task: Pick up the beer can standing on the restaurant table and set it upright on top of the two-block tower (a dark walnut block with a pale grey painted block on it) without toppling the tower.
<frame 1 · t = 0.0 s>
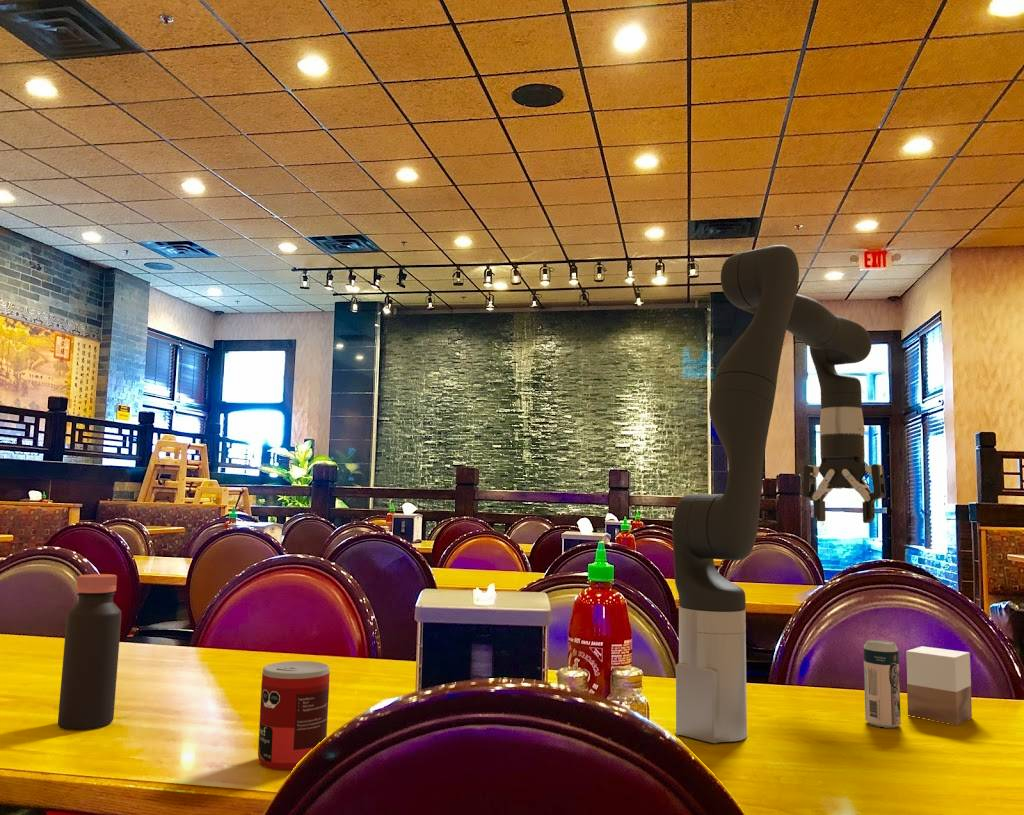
hand: (843, 522, 149), 29 cm above the table, fingers open, 8 cm apart
tower base: (940, 718, 127), on the table
tower top: (939, 684, 127), point 5 cm above the table
canned food: (291, 762, 98), on the table
beer can: (883, 726, 121), on the table
bottle: (85, 725, 112), on the table
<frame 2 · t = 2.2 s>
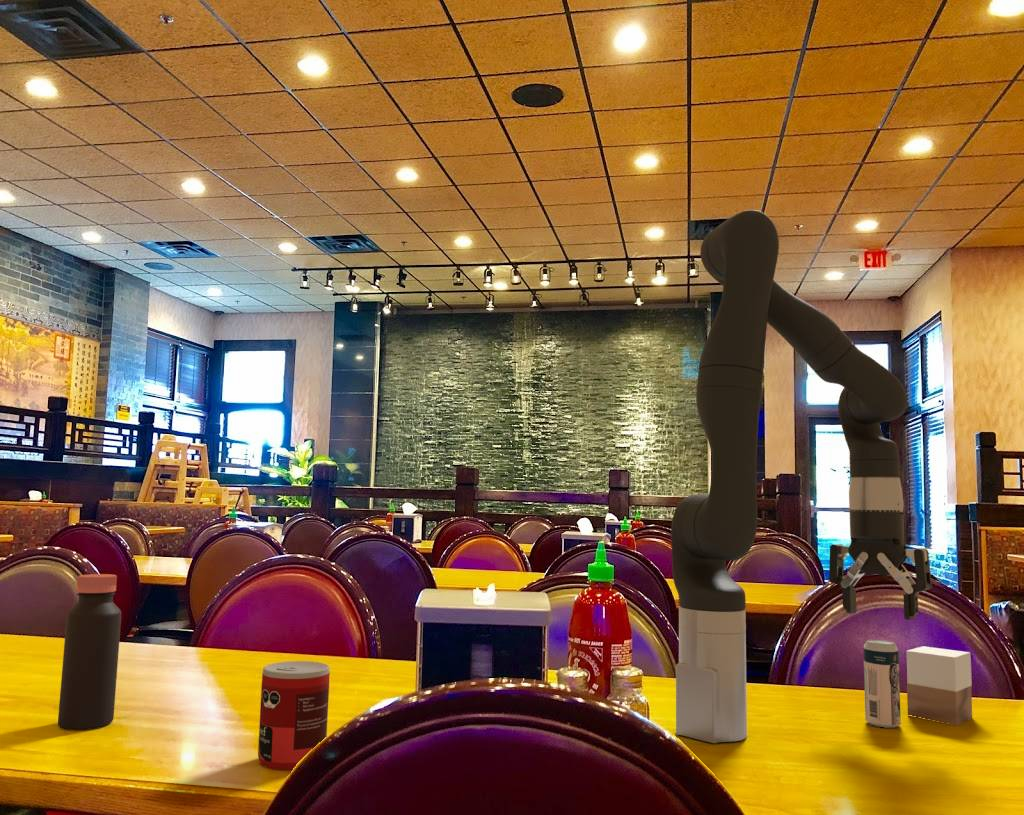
hand: (880, 616, 123), 16 cm above the table, fingers open, 8 cm apart
tower base: (940, 718, 127), on the table, touching tower top
tower top: (939, 684, 128), point 5 cm above the table, touching tower base
everything else where it was.
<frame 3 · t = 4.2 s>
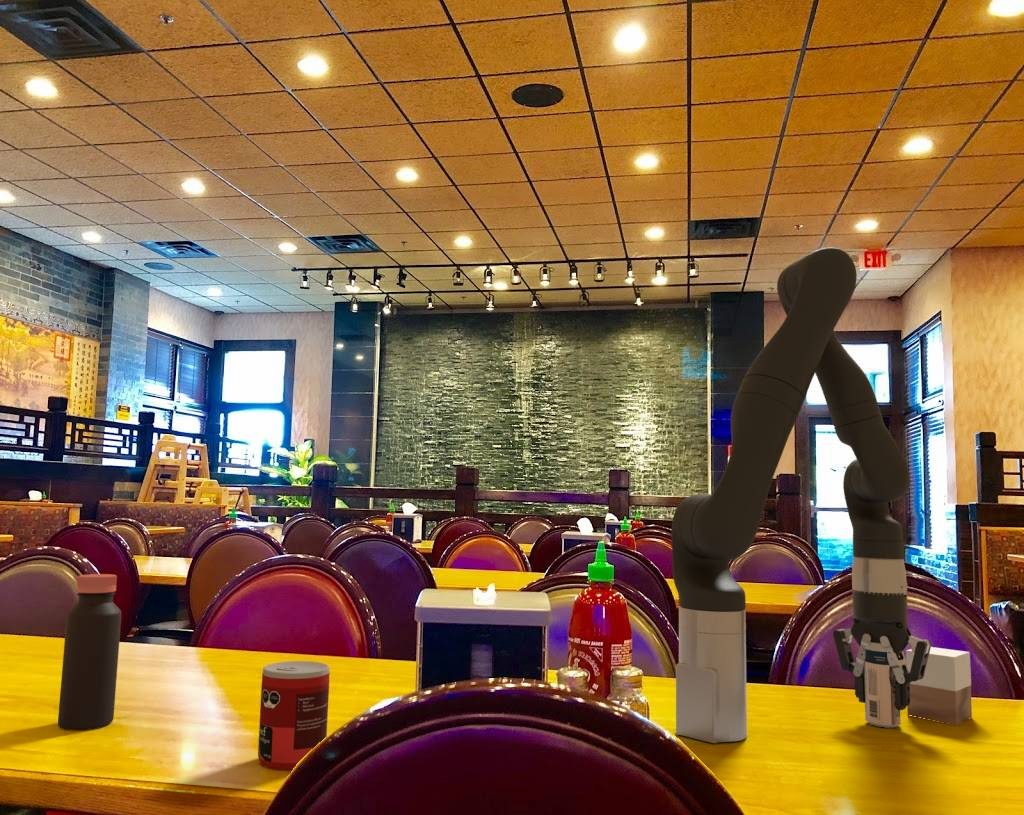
hand: (882, 704, 122), 3 cm above the table, fingers closed on beer can, 4 cm apart
beer can: (882, 726, 121), on the table, touching gripper
everything else where it was.
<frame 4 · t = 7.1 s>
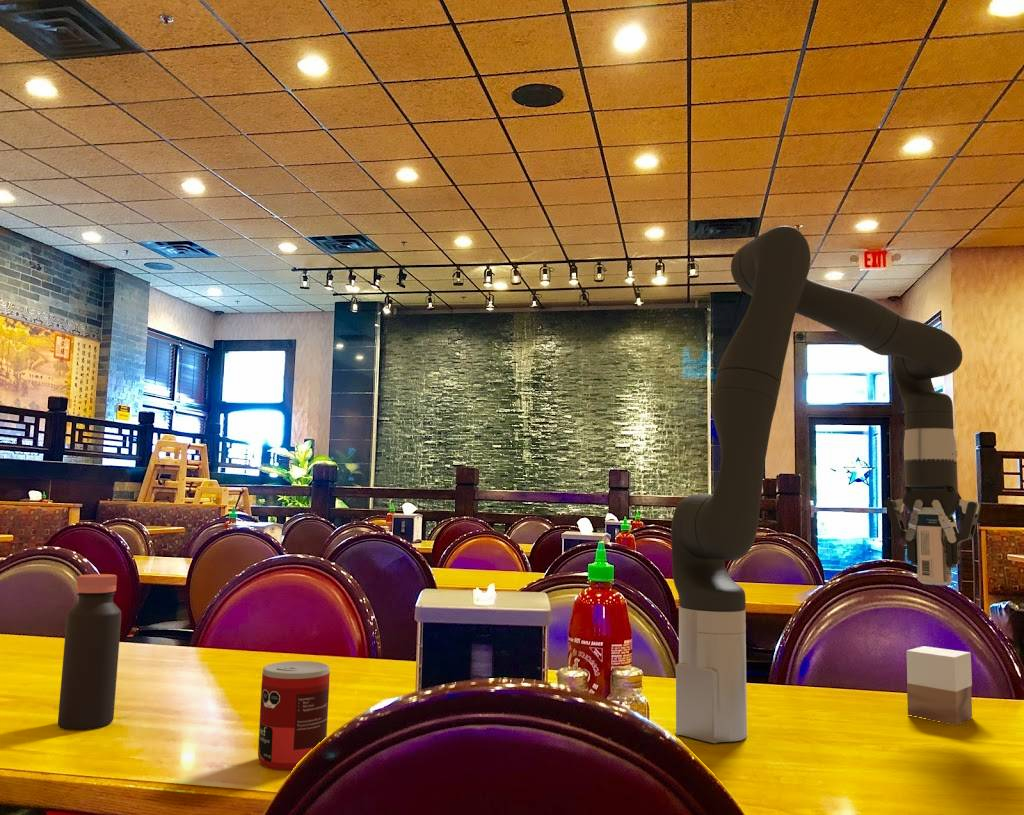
hand: (933, 565, 129), 23 cm above the table, fingers closed on beer can, 4 cm apart
beer can: (934, 585, 129), point 20 cm above the table, touching gripper
everything else where it was.
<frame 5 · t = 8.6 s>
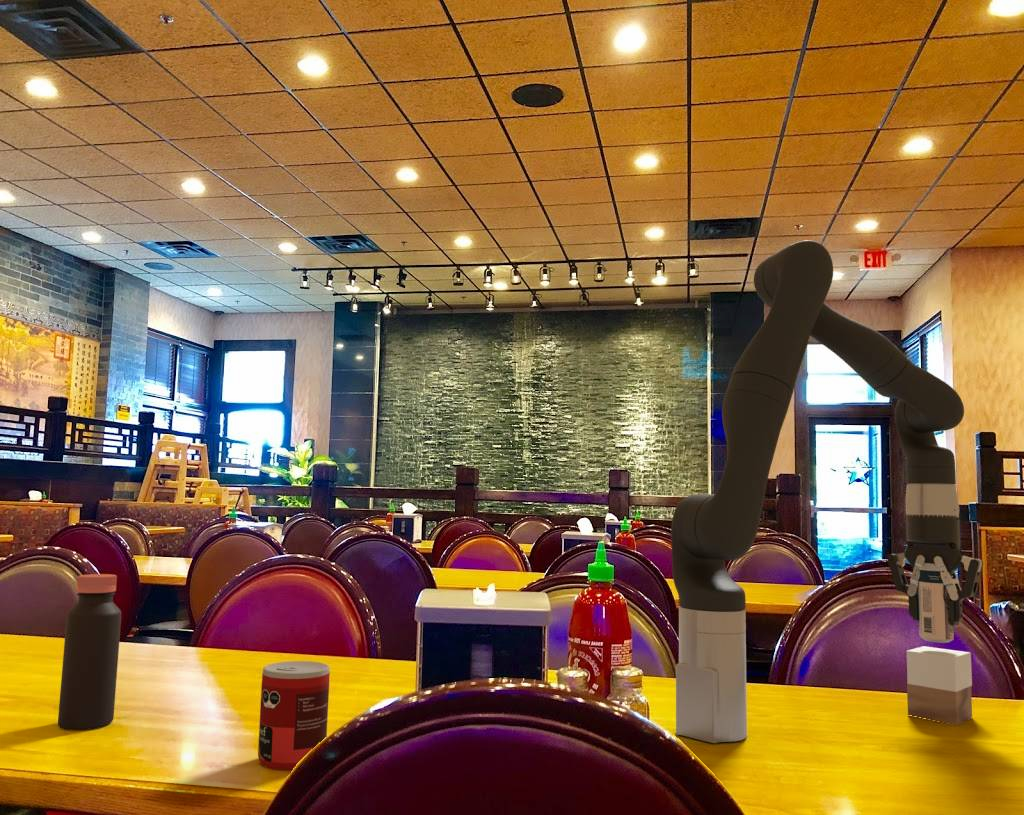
hand: (935, 622, 128), 14 cm above the table, fingers closed on beer can, 4 cm apart
beer can: (936, 642, 128), point 11 cm above the table, touching gripper
everything else where it was.
when the fingers open (14 cm above the table, at t = 9.8 s): beer can drops 1 cm, resting on tower top.
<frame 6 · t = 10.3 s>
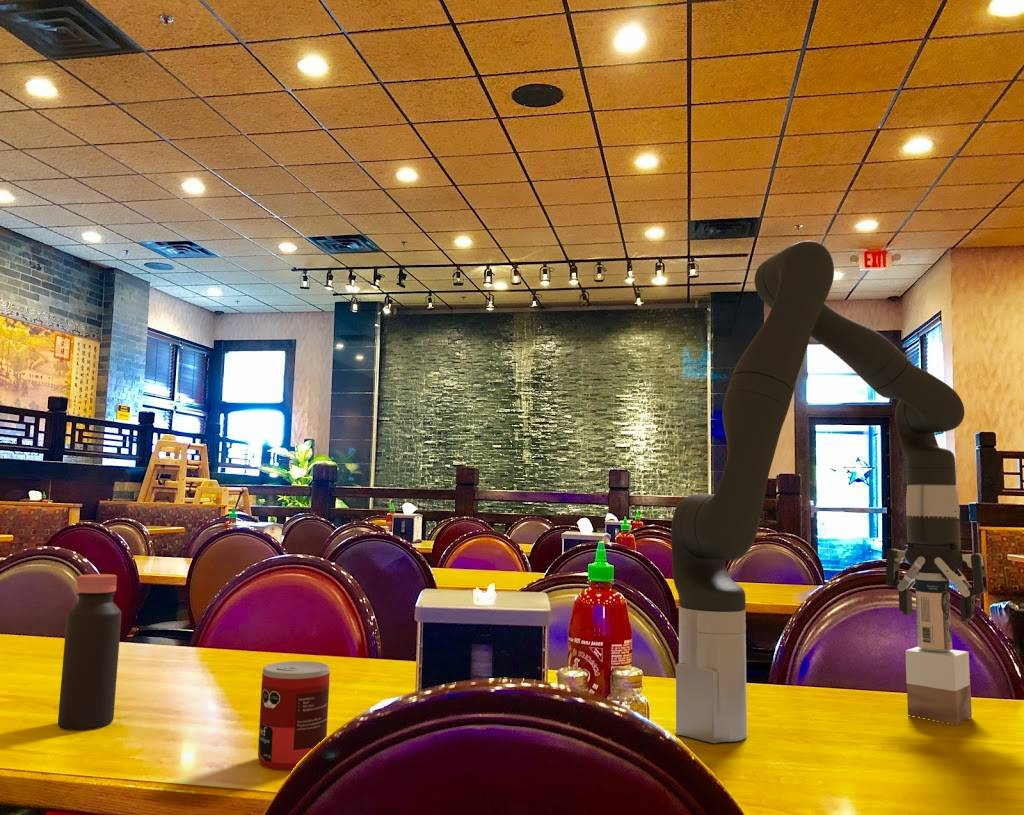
hand: (936, 618, 129), 15 cm above the table, fingers open, 8 cm apart
tower top: (938, 684, 127), point 5 cm above the table, touching beer can, tower base
beer can: (935, 652, 128), point 10 cm above the table, touching tower top
everything else where it was.
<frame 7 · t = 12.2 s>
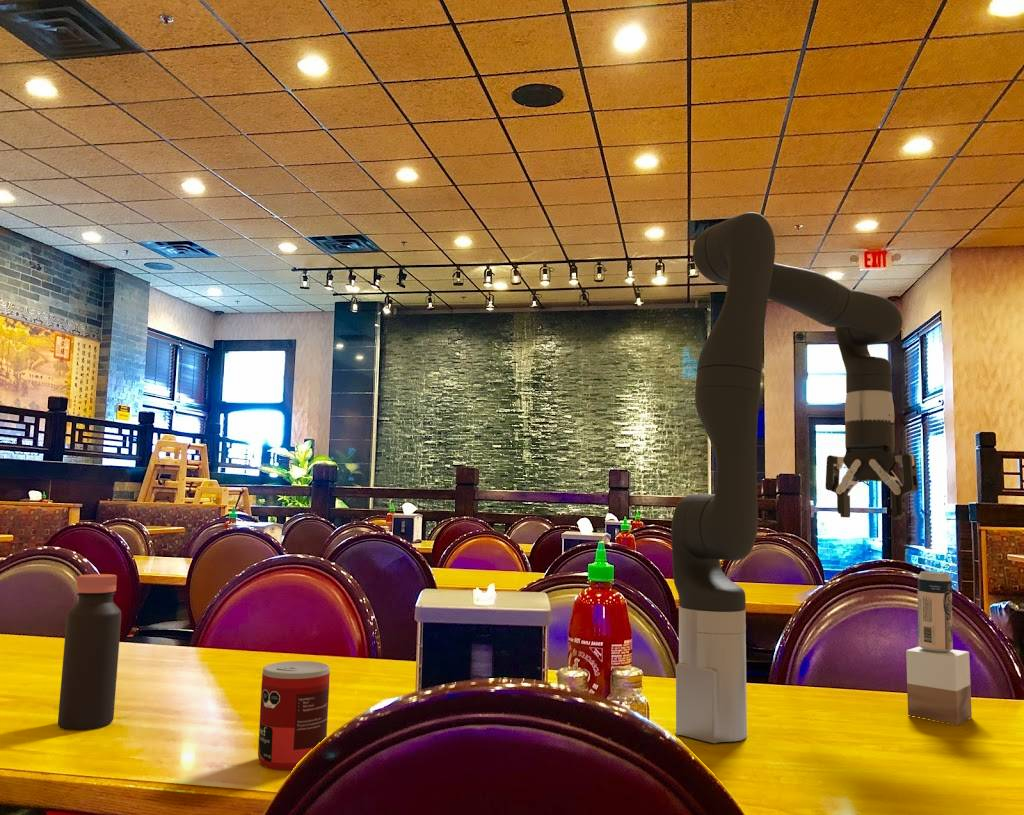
hand: (870, 518, 135), 30 cm above the table, fingers open, 8 cm apart
nothing on the table moved.
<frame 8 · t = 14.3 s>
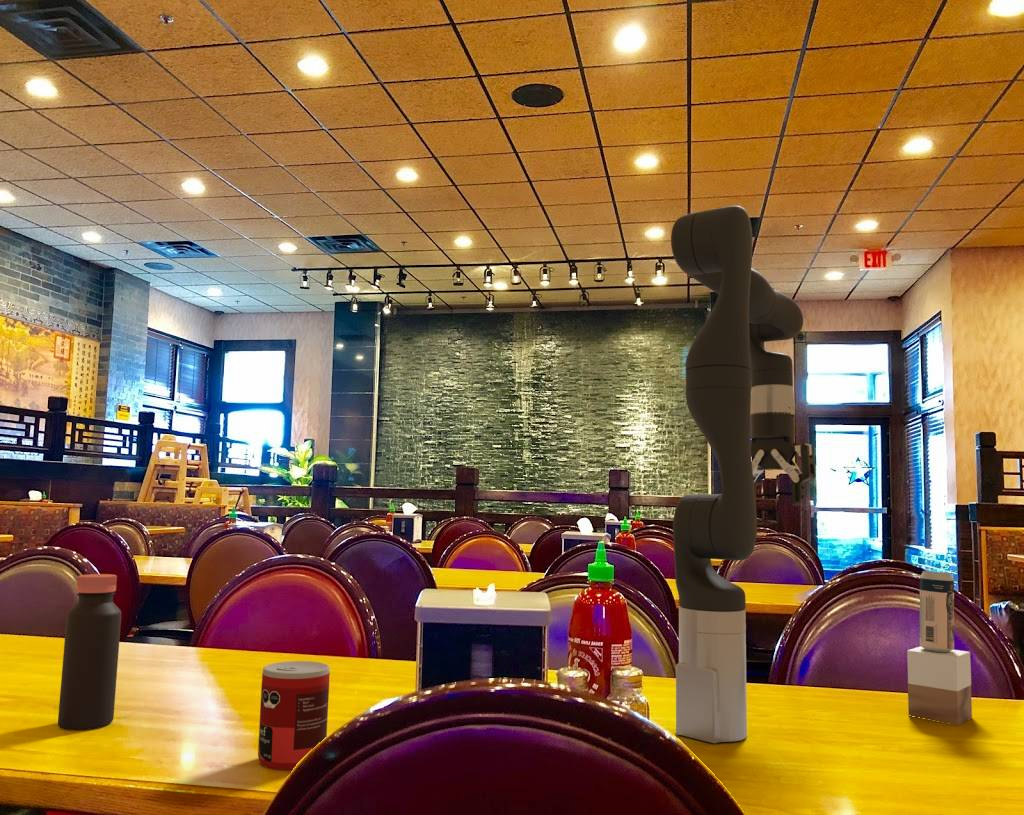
hand: (773, 504, 143), 32 cm above the table, fingers open, 8 cm apart
nothing on the table moved.
at the end: beer can 0.3 cm from the tower top (horizontally); beer can point 9.8 cm above the table; tower top moved 0.2 cm from its start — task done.
